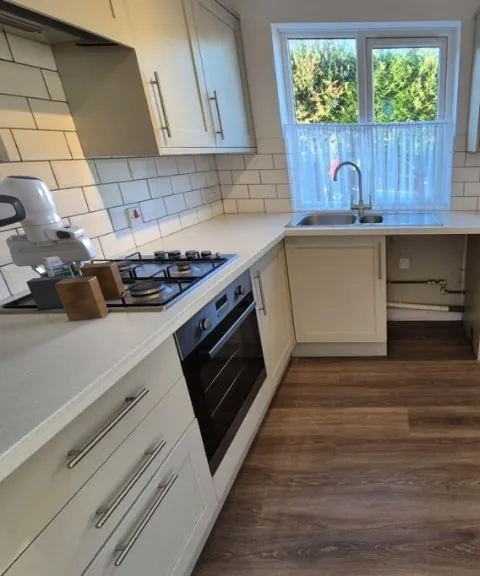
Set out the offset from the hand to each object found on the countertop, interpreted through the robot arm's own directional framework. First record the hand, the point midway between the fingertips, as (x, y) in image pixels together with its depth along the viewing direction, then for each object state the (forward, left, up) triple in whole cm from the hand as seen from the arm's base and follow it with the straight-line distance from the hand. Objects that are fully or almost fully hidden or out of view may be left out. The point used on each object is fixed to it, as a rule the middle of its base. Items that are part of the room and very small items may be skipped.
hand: (63, 276), depth 111 cm
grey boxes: (0, 0, -7) cm, 7 cm away
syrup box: (0, 0, -8) cm, 8 cm away
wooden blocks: (+12, -10, -7) cm, 17 cm away
